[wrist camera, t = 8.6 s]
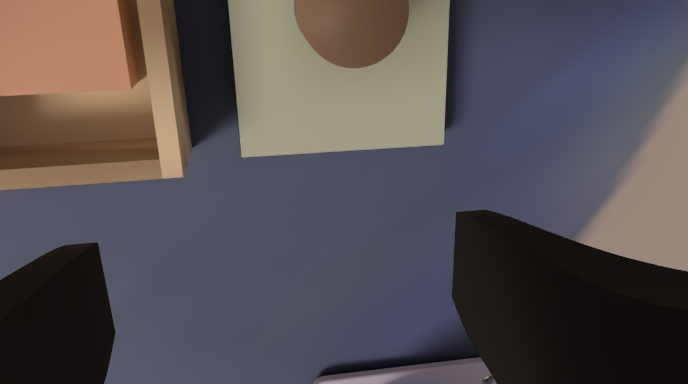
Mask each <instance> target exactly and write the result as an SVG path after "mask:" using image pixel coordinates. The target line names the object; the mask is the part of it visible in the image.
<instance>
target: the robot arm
mask: <svg viewBox="0 0 688 384" xmlns="http://www.w3.org/2000/svg"><path fill="white" fill-rule="evenodd" d="M452 299H453V301H454V304H455V306H456V309H457V311H458V314H459V316H460V319H461V321H462V323H463V326H464V328H465V330H466V333H467V335H468V337H469V338H470V340H471V342H472V344H473V345H474V347H475V349H476V350H477V352H478V354H479V355H480V357H478V358H469V359H461V360H453V361H444V362H436V363H427V364H419V365H411V366H402V367H394V368H386V369H377V370H369V371H360V372H352V373H344V374H335V375H327V376H322V377H319V378H318V379H316V380H315V382H314V383H313V384H688V272H687V271H682V270H677V269H672V268H667V267H662V266H658V265H654V264H650V263H646V262H642V261H638V260H634V259H630V258H626V257H622V256H619V255H615V254H612V253H609V252H606V251H602V250H599V249H596V248H593V247H590V246H587V245H584V244H581V243H578V242H575V241H573V240H570V239H567V238H564V237H561V236H559V235H556V234H553V233H551V232H548V231H545V230H543V229H540V228H538V227H535V226H532V225H530V224H527V223H525V222H522V221H519V220H517V219H514V218H511V217H508V216H505V215H502V214H499V213H496V212H492V211H488V210H477V211H465V212H456V226H455V246H454V267H453V287H452ZM114 337H115V328H114V323H113V318H112V313H111V308H110V303H109V298H108V293H107V288H106V282H105V277H104V272H103V267H102V262H101V257H100V252H99V247H98V243H86V244H74V245H64V246H62V247H59V248H57V249H54V250H52V251H50V252H48V253H46V254H45V255H43V256H41V257H39V258H37V259H36V260H34V261H32V262H30V263H29V264H27V265H25V266H24V267H22V268H20V269H18V270H17V271H15V272H13V273H12V274H10V275H8V276H6V277H5V278H3V279H1V280H0V384H104V381H105V378H106V375H107V371H108V366H109V362H110V357H111V352H112V347H113V342H114ZM486 376H489V378H487V379H485V380H483V378H484V377H486Z"/></svg>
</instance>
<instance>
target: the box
mask: <svg viewBox="0 0 688 384" xmlns="http://www.w3.org/2000/svg"><path fill="white" fill-rule="evenodd" d="M128 5H129V12H130V18H131V25H132V31H133V38H134V45H135V51H136V58H137V65H138V71H139V78H140V81H139V82H138V83H137V84H136V85H135V86H134V87H133V88H132V89H131V90H111V91H92V92H72V93H53V94H33V95H14V96H0V190H10V189H24V188H38V187H52V186H66V185H80V184H94V183H108V182H122V181H136V180H150V179H164V178H178V177H183V176H184V173H185V170H186V167H187V163H188V160H189V157H190V154H191V151H192V143H191V135H190V127H189V118H188V110H187V102H186V94H185V86H184V78H183V70H182V62H181V53H180V45H179V37H178V29H177V21H176V13H175V5H174V0H128Z"/></svg>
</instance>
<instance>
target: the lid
mask: <svg viewBox="0 0 688 384" xmlns="http://www.w3.org/2000/svg"><path fill="white" fill-rule="evenodd" d="M228 7H229V18H230V29H231V41H232V52H233V64H234V75H235V86H236V98H237V109H238V120H239V132H240V143H241V154H242V157H256V156H272V155H288V154H304V153H320V152H335V151H351V150H367V149H383V148H399V147H415V146H430V145H444V127H445V103H446V79H447V55H448V31H449V7H450V0H228Z"/></svg>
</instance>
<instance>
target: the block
mask: <svg viewBox="0 0 688 384" xmlns="http://www.w3.org/2000/svg"><path fill="white" fill-rule="evenodd" d="M139 81H140V78H139V71H138V65H137V58H136V51H135V45H134V38H133V31H132V25H131V18H130V12H129V5H128V0H0V96H14V95H33V94H53V93H72V92H92V91H111V90H131V89H132V88H133V87H134V86H135V85H136V84H137V83H138V82H139Z"/></svg>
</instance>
